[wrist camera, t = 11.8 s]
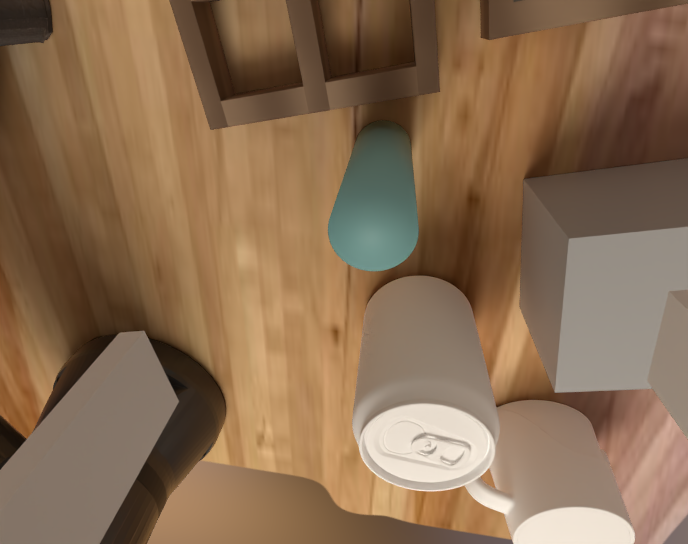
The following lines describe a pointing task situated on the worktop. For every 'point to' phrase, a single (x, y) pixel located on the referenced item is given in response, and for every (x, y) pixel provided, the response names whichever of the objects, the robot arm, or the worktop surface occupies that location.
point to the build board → (302, 68)
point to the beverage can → (423, 388)
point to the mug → (553, 478)
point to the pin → (376, 201)
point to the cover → (602, 270)
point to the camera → (24, 21)
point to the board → (555, 13)
